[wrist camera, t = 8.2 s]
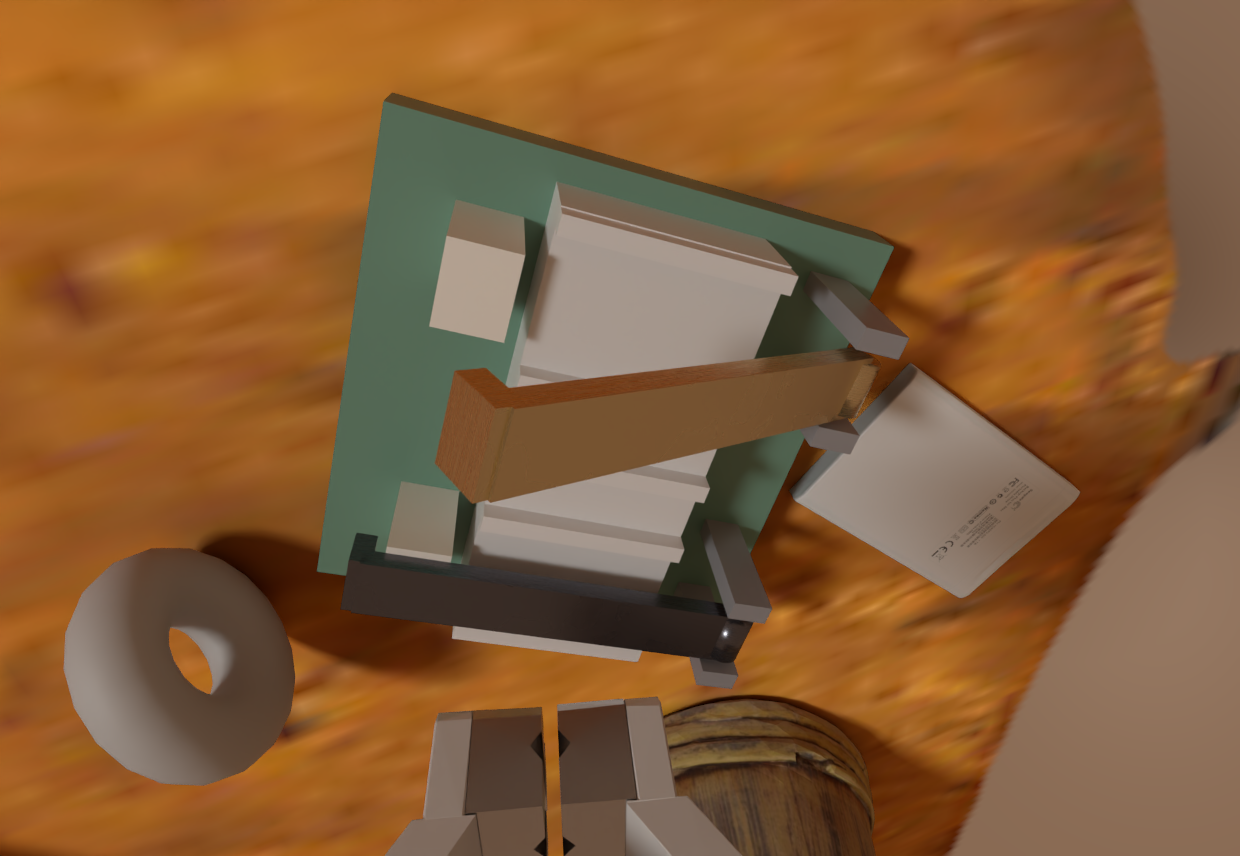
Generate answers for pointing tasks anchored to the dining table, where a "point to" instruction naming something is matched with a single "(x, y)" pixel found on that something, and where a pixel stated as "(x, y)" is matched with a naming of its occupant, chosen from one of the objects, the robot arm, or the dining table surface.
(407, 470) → the board
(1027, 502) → the external hard drive
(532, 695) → the dining table surface
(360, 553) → the dark grey long bar
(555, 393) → the strap brass
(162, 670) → the donut
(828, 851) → the tankard
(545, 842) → the robot arm
